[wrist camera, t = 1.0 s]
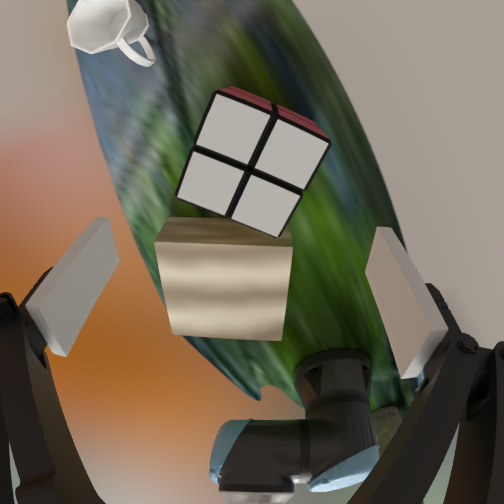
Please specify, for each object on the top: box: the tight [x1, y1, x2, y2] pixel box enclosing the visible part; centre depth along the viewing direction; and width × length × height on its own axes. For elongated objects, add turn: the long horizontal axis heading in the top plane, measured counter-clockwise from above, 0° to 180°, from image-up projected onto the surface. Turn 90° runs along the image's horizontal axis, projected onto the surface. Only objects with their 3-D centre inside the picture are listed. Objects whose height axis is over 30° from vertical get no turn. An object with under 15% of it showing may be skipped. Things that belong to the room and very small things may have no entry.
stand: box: [154, 217, 293, 341], centre depth 39 cm, size 15×15×6 cm
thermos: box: [372, 406, 424, 504], centre depth 51 cm, size 9×12×35 cm
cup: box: [66, 0, 156, 67], centre depth 22 cm, size 7×10×8 cm
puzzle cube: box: [175, 86, 332, 238], centre depth 28 cm, size 10×10×10 cm
